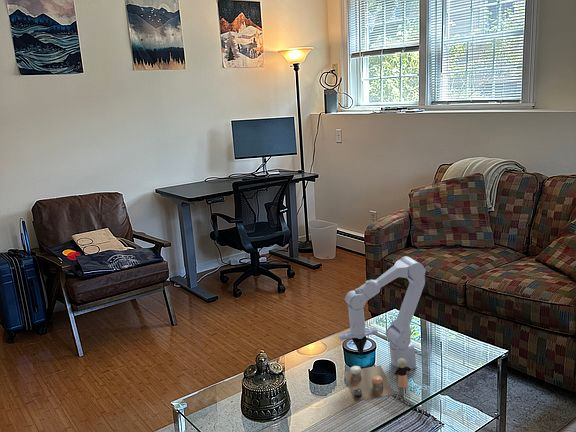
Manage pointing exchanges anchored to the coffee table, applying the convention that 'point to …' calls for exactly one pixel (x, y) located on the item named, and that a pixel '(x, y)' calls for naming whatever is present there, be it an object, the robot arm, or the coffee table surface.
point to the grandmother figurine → (402, 373)
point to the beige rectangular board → (369, 383)
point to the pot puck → (357, 392)
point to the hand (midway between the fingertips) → (360, 353)
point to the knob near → (377, 380)
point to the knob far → (355, 370)
